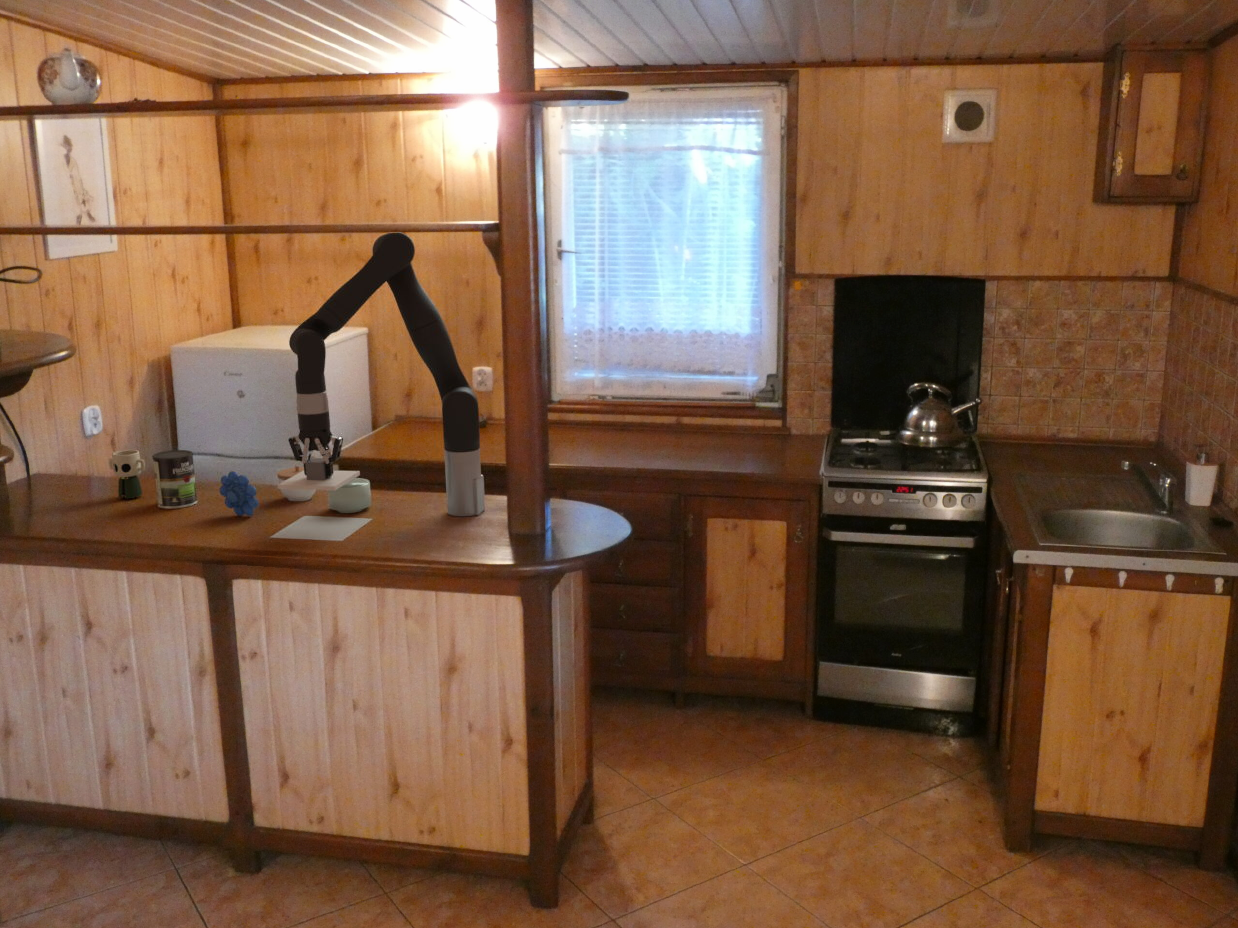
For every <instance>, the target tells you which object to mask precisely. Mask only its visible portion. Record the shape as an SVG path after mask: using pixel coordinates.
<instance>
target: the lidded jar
mask: <svg viewBox="0 0 1238 928" xmlns="http://www.w3.org/2000/svg"><path fill="white" fill-rule="evenodd" d="M302 471H304V466H303V467H302V466H299V465H295V466H294V467H288V468H286V469H281V470H280V471H278V472H277V474H276V475H277V479H278V484H280V483H282V482H284V481H285V480H287V479H289V478H291V477H293V476H295V475H296V474H298V473H300V472H302ZM279 490H280V491H281V493H282V495H283V496H284V497H285V498H286V499H288V502H289V501H290V502H304V501H305V502H306V501H309V500H311V499H312V497H313V495H314V494H315V493H316V491H317V490H300V489H279Z"/></svg>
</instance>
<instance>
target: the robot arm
mask: <svg viewBox="0 0 1238 928" xmlns="http://www.w3.org/2000/svg"><path fill="white" fill-rule="evenodd" d="M396 232H397V233H390V232H387V233H385V234H382V235H380V236H379V237H377V239H376V240H375V241H374V243H373V245H372V256H371V257H370V259H369V260H368V261H367V262H366V263H365V264H364V266H362V267H361V268H360V269H359V271H358V272H357V273H356V274H355V275H353V276H352V277H351V278H350V279H348V281H346V282H345V283H344V284H343V285H341V286H340V287H339V288H338V289H337V290H336V291H335V292H334V293H333V294H332V295H331V296H330V297H329V298H328V299H327V300H326V301H324V303H323V304H322V305H321V306H320V308H319V309H317V311H316V312H315V313H313V314H312V315H311V316H309V317H308V318H307V319H306V320H304V321H303V322H301V324H299V325H298V326H297V327H296V328H295V329H294V331H293V332H292V333H291V335H290V337H289V340H288V342H289V348H290V350H291V351H292V353H293V354H295V355H296V356H297V370H296V371H295V375H294V377H295V390H296V412H297V420H298V429H299V432H298V435H293V436H290V437H289V438H288V443H289V446H290V449H291V451H292V454H293V456H294V459H295V461H296V462H298V461H300V462H301V463H302V464H303V467H304V474H305V475H306V465H305V462H307V461H309V460H311V459H312V457H313V456H312V455H313V452H314V451H317V452H319V454H320V456H321V457H322V458H323V459H324V462H325V463H326V464H325V474H326V478H330V477H331V476H332V475H333V473H334V472H333V471H334V466H333V465H334V464H333V463H334V462H336V461H338V460H339V459H340V458H341V452H342V447H343V443H344V438H343V436H335V435H333V434H332V433H333V432H331V420H330V419H331V418H330V409H329V408H330V407H329V400H328V399H329V398H328V394H327V387H326V386H327V385H326V378H325V377H326V376H325V369H326V356H327V355H326V353H327V352H326V351H327V350H326V343H325V340H326V339H328V338H329V337H330V335H332V334H335V333H338V332H339V331H340V330H341V329H342V328H343V327H344V326H345V325H346V324H347V323H349V321H350V320H351V319H352V318H353V316H355V314H356V313H357V312H358V311H359V310H360V309H362V307H363V306H364V304H365V303H367V301H368V300H369V299H370V298H371V297H373V295H374V294H375V292H377V291H378V289H380V288H381V287H382V286H383V285H384V284H385V283H386V282H387V285H388V287H389V288H390V290H391V292H392V294H393V297H394V300H395V303H396V305H397V307H398V308H397V309H398V310H399V313H400V315H401V318H402V320H403V322H404V326H405V328H406V331H407V332H408V335H409V337H410V339H411V341H412V343H413V346H414V347H415V349H416V351H417V353H418V355H419V356H420V359H422V361H423V362H424V364H425V365H426V367H427V369H428V370H429V372H430V373H431V375H432V377H433V379H434V382H435V384H436V387H437V390H438V393H439V396H440V399H441V405H442V406H441V414H442V415H441V416H442V417H441V418H442V433H443V448H444V451H443V452H444V466H445V467H444V468H445V470H444V471H445V487H446V488H445V490H446V492H445V493H446V509H447V514H448V515H449V516H454V517H471V516H479V515H481V513H482V512H483V511H485V509H486V503H485V502H486V501H485V480H484V478H485V477H484V474H482V468H481V467H482V466H481V443H480V442H481V439H480V438H481V434H480V415H479V414H480V411H479V401H478V398H477V395H476V393H475V392H474V391H473V388H472V387H471V385H470V384H469V382H468V381H467V377H465V374H464V372H463V371H462V369H461V367H460V365H459V362H458V358H457V356H456V353H455V349H454V345H453V343H452V340H451V338H450V337H451V336H450V335H449V331H448V329H447V327H446V324H445V322H444V320H443V317H442V315H441V314H440V312H439V309H438V308H437V306H436V305H435V303H434V301H432V299H431V298H430V296H429V294H428V293H427V292H426V291H425V289H424V288H423V287H422V285H421V284H420V281H419V280H418V277H417V275H416V273H415V270H414V267H413V263H412V261H413V260H414V258H415V252H416V250H415V248H416V247H415V243H414V242H413V239H412V238H411V237H410V236H408V235H407V234H405V233H404V232H400V231H396ZM301 443H302V445H303V450H302V447H301V445H300V444H301ZM330 443H331V444H332V446H333V448H332V449H331V447H330ZM306 476H307V475H306Z"/></svg>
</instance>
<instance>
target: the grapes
mask: <svg viewBox="0 0 1238 928" xmlns="http://www.w3.org/2000/svg"><path fill="white" fill-rule="evenodd" d="M220 482H221V486H220V487H219V493H220V495H221V496H222V497H224V498H225V499H224V505H225V506H226V508H228V509H233V512H234V514H236V516H240V517H241V516H243V515H245V516H247V517H250V516H253V515H254V511H255V509H256V508H258V507H259V500H258V498H256V495H257V489H256V487H255V486H254V485H252V484H249V483H250V480H249V477H247V476H246V475H244V474H240V475H239V474H238V473H237V472H236V471H233V470H232V471H229V473H228V474H227V475H226V474H225V475H222V476H221V478H220Z"/></svg>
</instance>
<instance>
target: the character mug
mask: <svg viewBox="0 0 1238 928" xmlns="http://www.w3.org/2000/svg"><path fill="white" fill-rule="evenodd" d="M108 465H109V469H110V470H112V471H113V474H114V475H115V476H116V477H117V478H118V489H117V490H118V498H119V499H123V496H124V498H125V499H126V500H127V499H136V498H138V497H140V496H142V495H143V490H142V485H141V482H140V478H139V476H138V475H140V474H142V471H143V472H144V471H146V463H145V459H142V458H141V456H140V451H139V450H138V449H124V450H117V451H114V452H112V454H111V457H109V458H108ZM135 497H136V498H135Z"/></svg>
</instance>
